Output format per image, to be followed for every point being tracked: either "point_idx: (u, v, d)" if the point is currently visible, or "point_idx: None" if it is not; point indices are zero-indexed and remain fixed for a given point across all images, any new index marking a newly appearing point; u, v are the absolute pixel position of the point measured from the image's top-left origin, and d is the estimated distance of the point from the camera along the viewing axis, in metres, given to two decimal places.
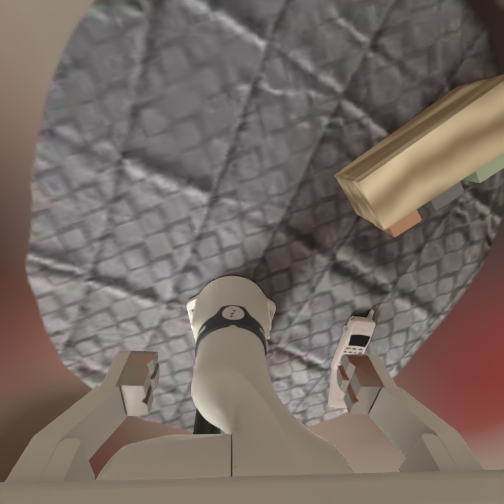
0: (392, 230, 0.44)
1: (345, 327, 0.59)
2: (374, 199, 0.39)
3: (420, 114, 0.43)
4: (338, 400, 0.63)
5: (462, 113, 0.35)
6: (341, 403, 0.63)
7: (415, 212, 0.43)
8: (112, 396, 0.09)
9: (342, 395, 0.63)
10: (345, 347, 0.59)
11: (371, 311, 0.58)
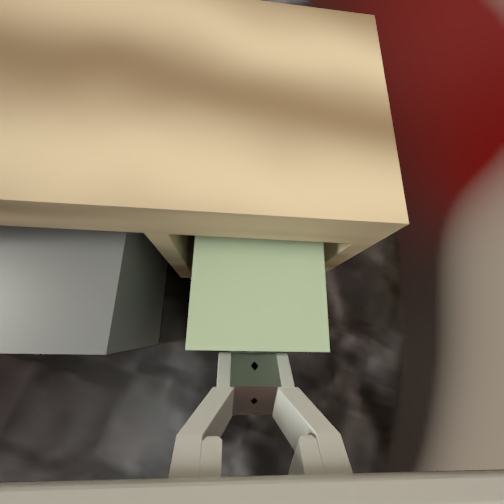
0: None
1: None
2: None
3: None
4: None
5: None
6: None
7: None
8: (229, 396, 0.09)
9: None
10: None
11: None
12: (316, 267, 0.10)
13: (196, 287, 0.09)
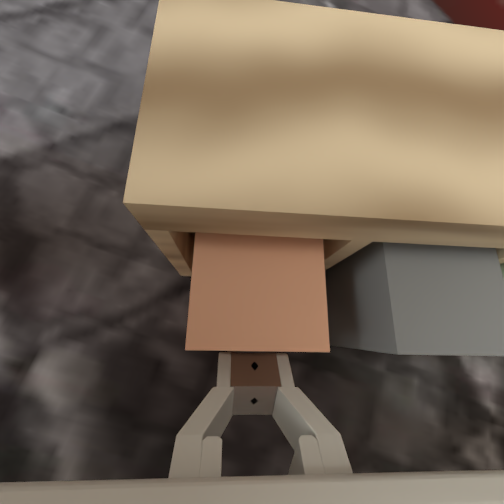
0: (194, 307, 0.09)
1: None
2: (174, 60, 0.09)
3: None
4: None
5: None
6: None
7: (316, 296, 0.10)
8: (229, 396, 0.09)
9: None
10: None
11: None
12: None
13: None
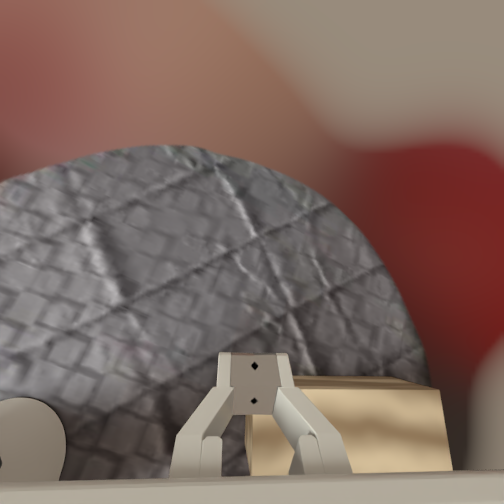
0: None
1: None
2: (260, 424, 0.30)
3: (351, 377, 0.41)
4: None
5: (381, 394, 0.32)
6: None
7: None
8: (229, 396, 0.09)
9: None
10: None
11: None
12: None
13: None
